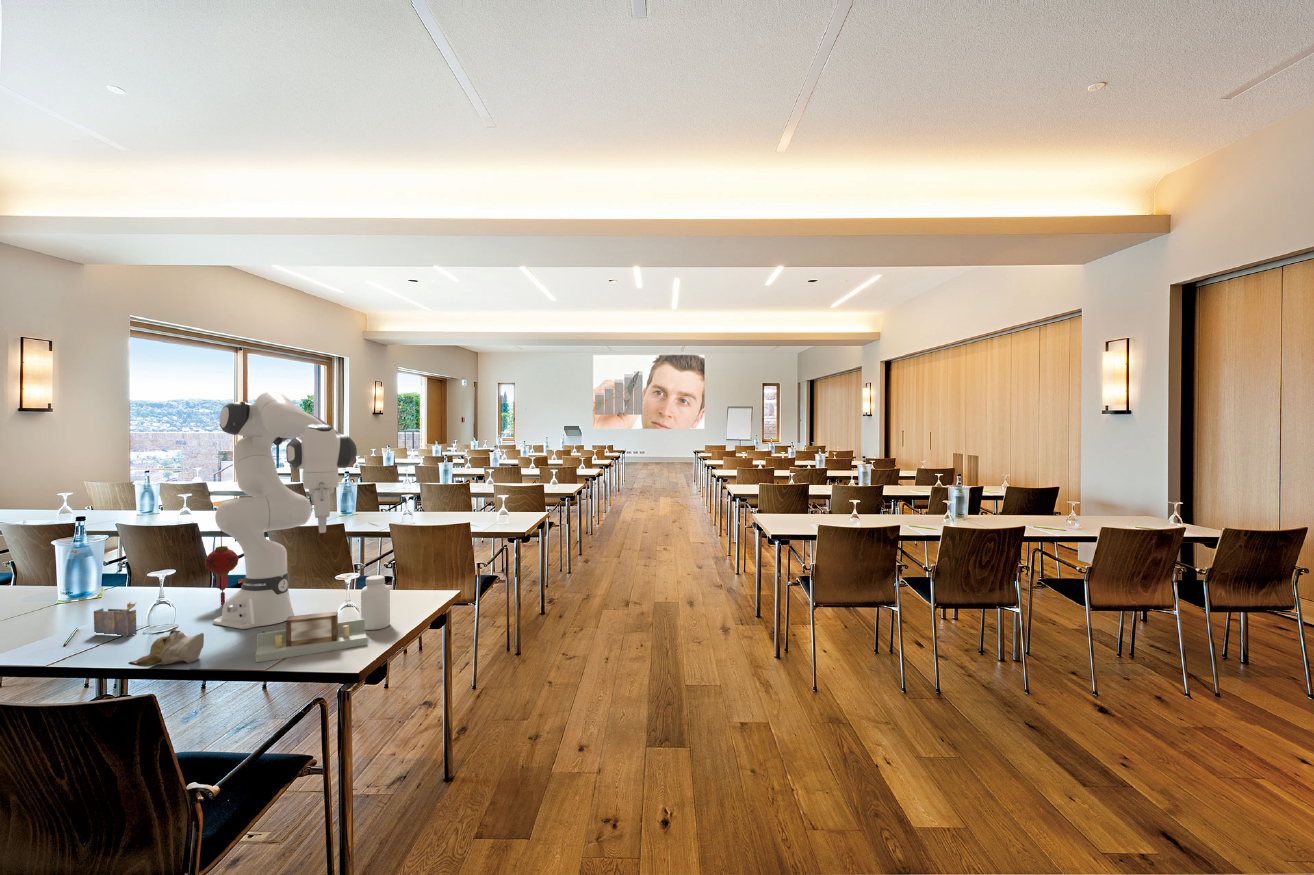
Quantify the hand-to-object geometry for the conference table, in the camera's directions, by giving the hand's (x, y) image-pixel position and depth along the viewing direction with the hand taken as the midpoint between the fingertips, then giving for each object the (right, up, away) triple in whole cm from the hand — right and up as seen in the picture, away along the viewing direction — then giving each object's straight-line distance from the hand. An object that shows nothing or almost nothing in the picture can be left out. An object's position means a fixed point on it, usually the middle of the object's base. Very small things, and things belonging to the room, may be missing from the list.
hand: (322, 530), depth 180 cm
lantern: (-52, -31, +35) cm, 70 cm away
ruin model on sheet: (-64, -32, +5) cm, 71 cm away
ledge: (+2, -31, -8) cm, 32 cm away
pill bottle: (+10, -31, +11) cm, 34 cm away
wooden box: (+1, -29, -8) cm, 30 cm away
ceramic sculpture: (-30, -32, -17) cm, 47 cm away
